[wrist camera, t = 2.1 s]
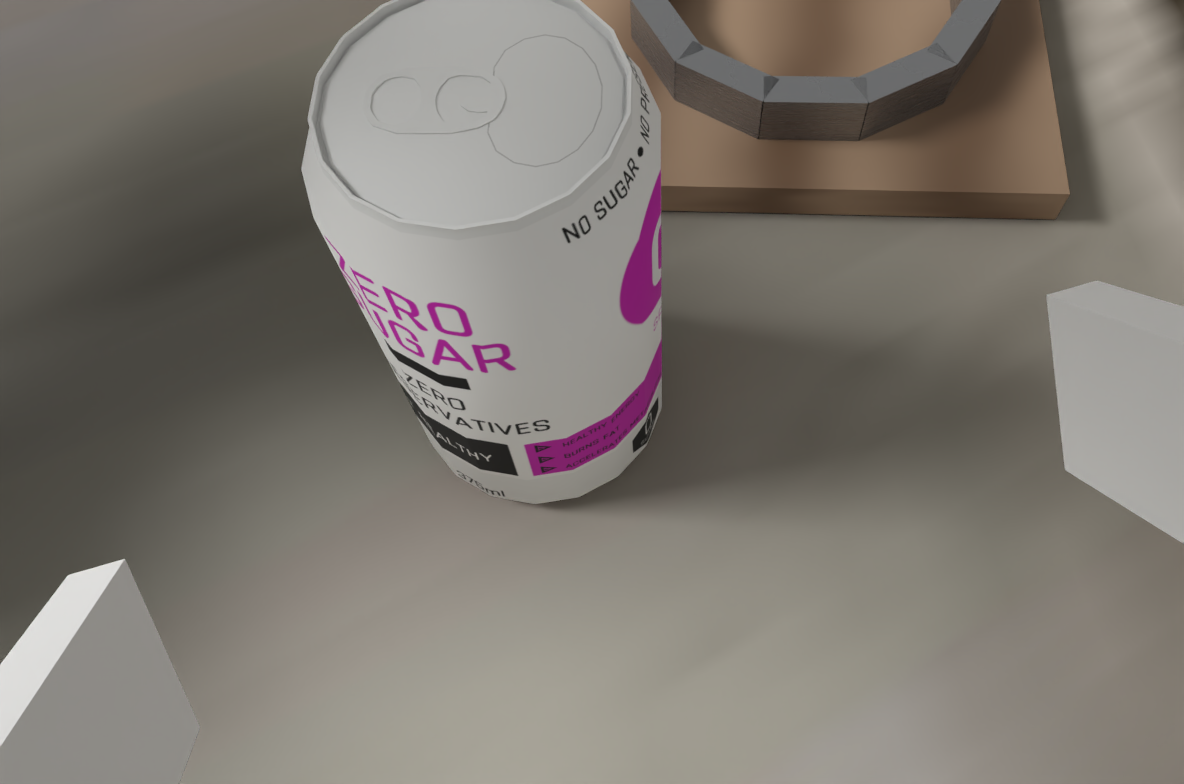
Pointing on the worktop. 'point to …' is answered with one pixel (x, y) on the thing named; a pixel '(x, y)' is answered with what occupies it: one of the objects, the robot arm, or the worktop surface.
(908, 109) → the steel collar
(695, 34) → the seat plate
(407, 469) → the worktop surface
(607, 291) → the supplement can
